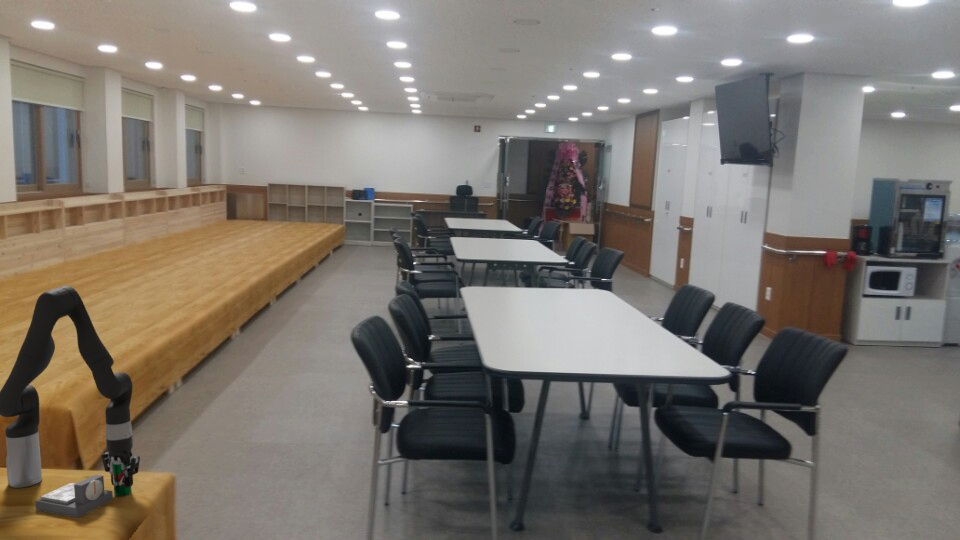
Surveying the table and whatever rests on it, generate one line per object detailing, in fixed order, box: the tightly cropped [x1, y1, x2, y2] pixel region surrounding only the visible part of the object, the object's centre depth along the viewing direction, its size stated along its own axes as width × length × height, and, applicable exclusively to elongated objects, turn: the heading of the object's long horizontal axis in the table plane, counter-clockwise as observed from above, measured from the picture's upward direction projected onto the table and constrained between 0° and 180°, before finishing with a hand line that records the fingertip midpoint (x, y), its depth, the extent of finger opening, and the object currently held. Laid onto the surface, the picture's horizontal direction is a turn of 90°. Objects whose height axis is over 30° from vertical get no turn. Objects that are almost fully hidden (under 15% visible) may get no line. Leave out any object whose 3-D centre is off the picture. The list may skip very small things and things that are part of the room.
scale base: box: [34, 474, 114, 518], centre depth 218 cm, size 17×13×9 cm
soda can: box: [112, 460, 133, 498], centre depth 226 cm, size 5×5×12 cm
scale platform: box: [39, 482, 76, 504], centre depth 219 cm, size 11×11×1 cm
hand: (122, 485), depth 226 cm, fingers closed on soda can, 5 cm apart
